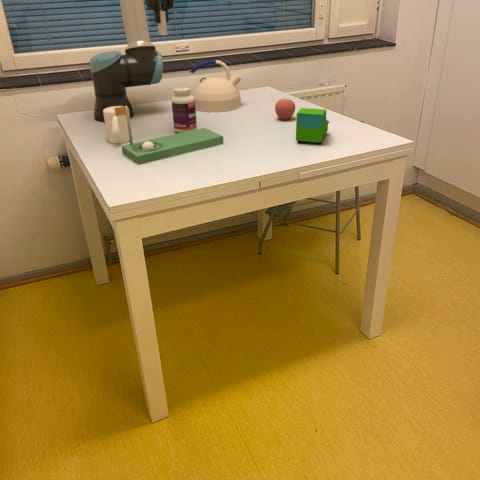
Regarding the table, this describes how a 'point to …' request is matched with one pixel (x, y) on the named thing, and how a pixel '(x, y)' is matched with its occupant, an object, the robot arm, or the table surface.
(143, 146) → the ball
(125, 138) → the mug
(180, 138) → the putting mat
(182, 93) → the pill bottle
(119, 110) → the flag pin
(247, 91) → the table surface
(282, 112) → the apple
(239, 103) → the kettle
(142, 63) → the robot arm
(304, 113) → the toy car
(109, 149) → the table surface
